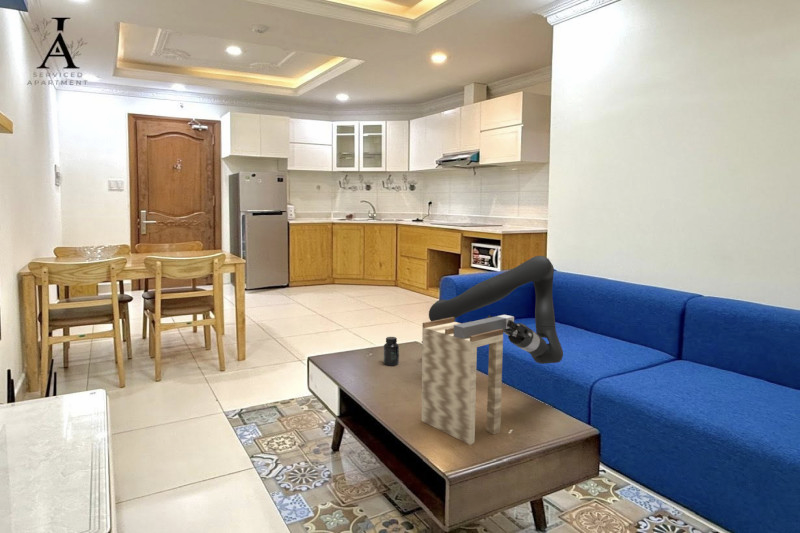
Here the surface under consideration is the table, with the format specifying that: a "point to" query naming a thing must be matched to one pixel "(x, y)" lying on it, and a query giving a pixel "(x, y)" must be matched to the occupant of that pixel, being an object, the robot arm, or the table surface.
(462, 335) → the grey rectangular bar
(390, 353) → the supplement bottle
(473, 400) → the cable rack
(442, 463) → the table surface
